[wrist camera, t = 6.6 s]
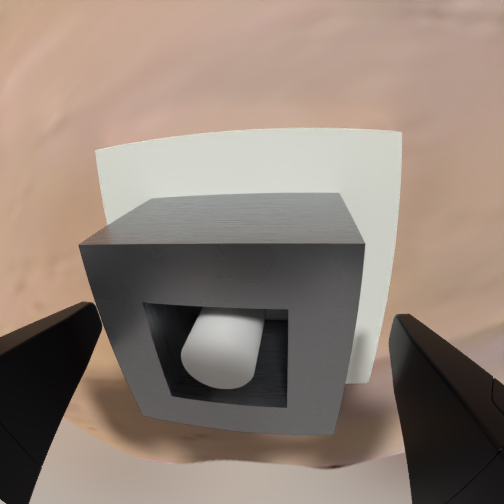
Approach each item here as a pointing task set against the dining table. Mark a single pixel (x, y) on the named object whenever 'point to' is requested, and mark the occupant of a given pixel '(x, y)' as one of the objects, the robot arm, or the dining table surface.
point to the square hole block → (233, 303)
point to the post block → (269, 181)
